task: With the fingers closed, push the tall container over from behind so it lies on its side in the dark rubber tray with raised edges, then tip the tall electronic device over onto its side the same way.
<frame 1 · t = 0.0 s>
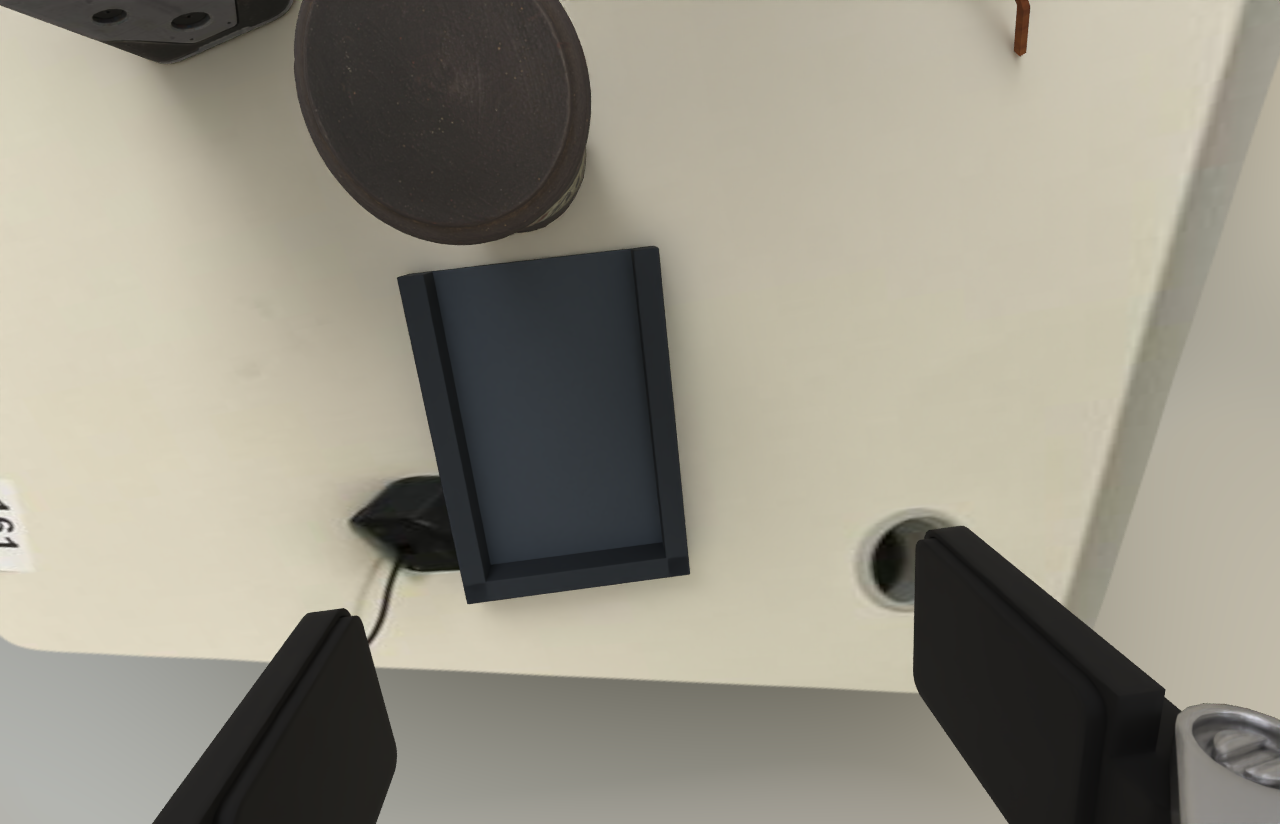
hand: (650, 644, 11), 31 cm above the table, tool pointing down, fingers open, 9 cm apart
container: (516, 154, 37), on the table
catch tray: (556, 415, 42), on the table
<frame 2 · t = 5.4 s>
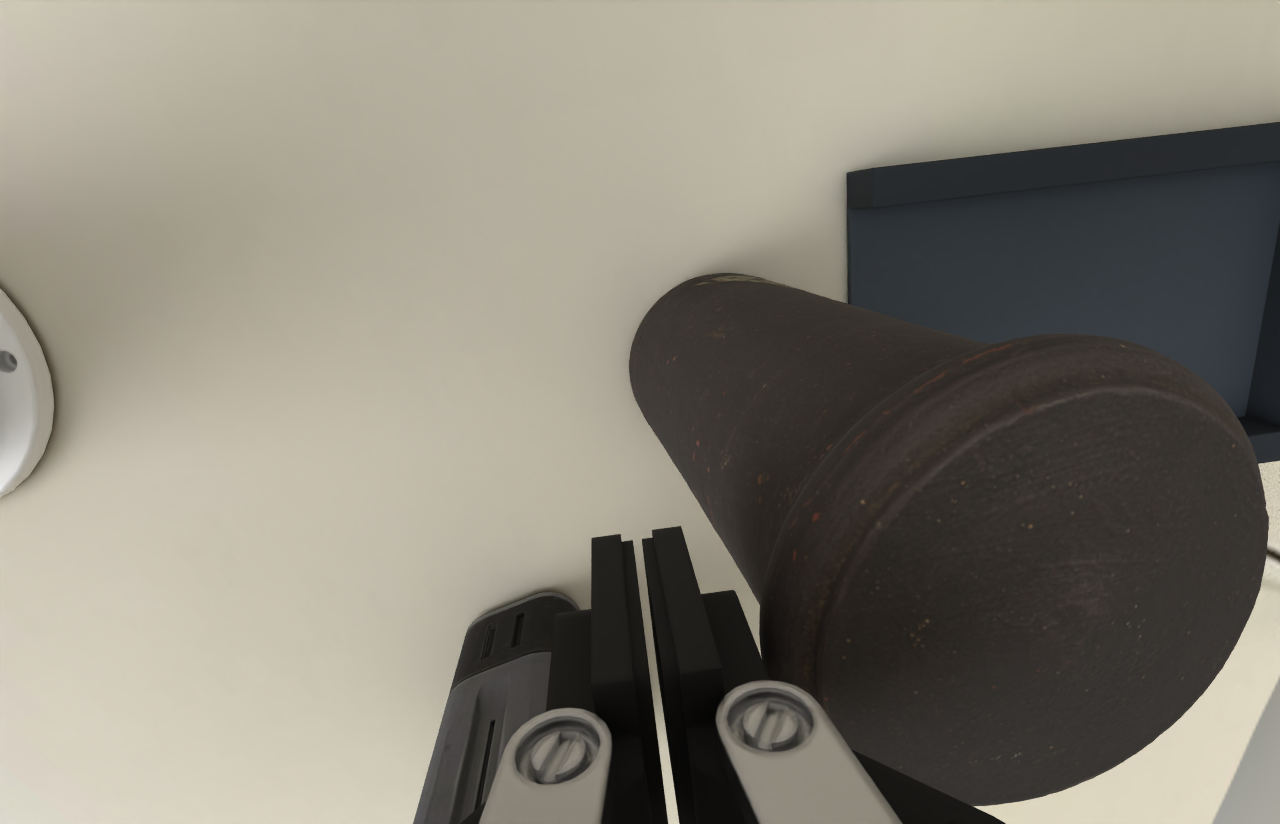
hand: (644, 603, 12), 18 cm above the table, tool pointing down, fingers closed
electronic device: (549, 669, 33), on the table
container: (719, 363, 29), on the table, touching gripper
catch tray: (1058, 319, 30), on the table
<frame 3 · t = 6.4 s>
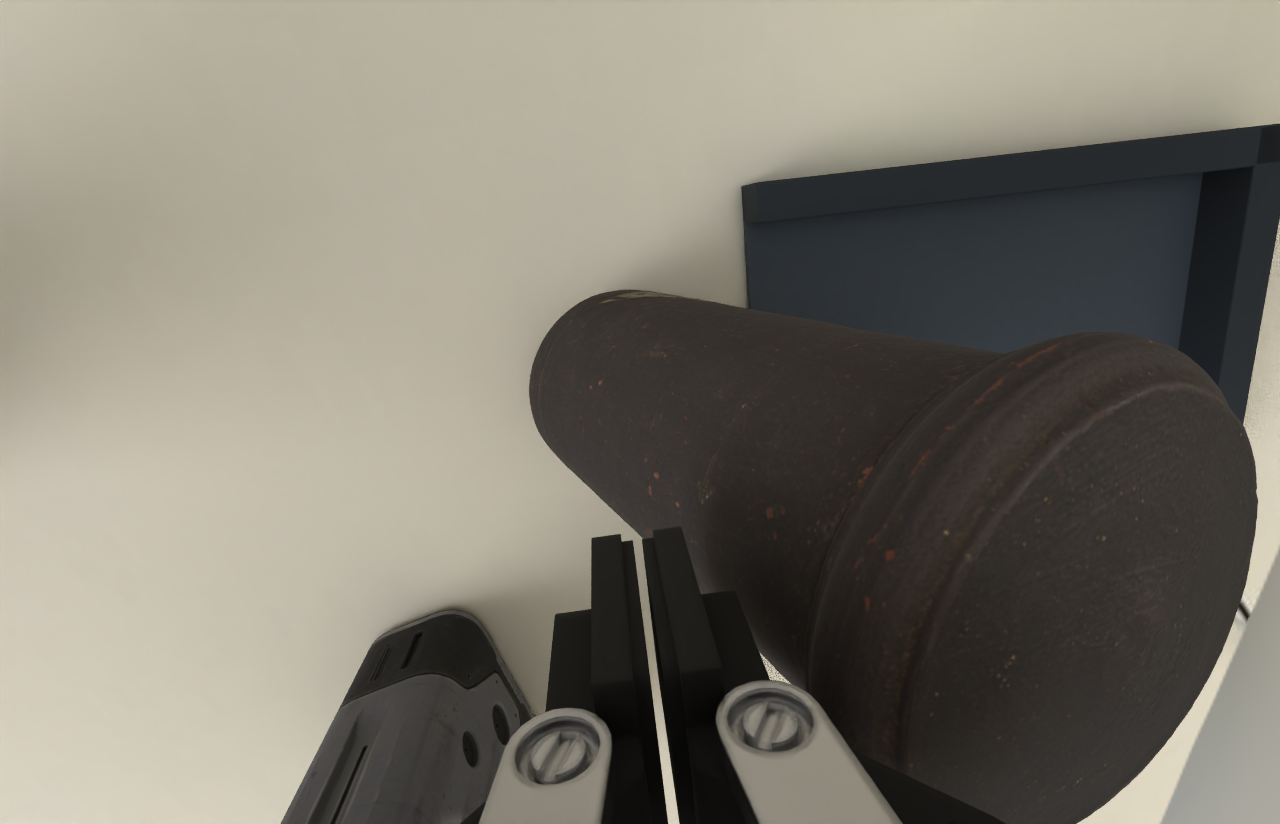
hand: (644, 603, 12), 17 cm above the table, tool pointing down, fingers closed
electronic device: (457, 687, 32), on the table
container: (623, 385, 27), point 1 cm above the table, touching gripper
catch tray: (967, 335, 29), on the table
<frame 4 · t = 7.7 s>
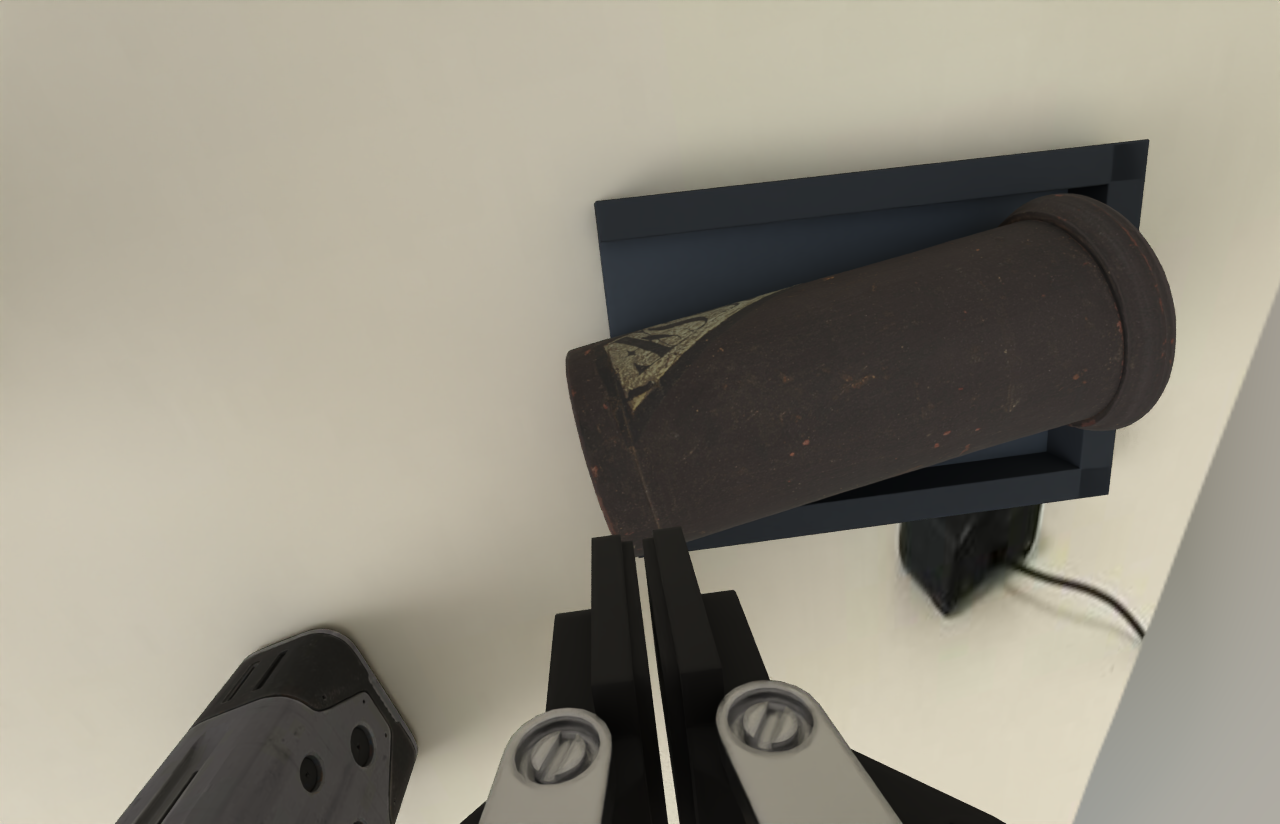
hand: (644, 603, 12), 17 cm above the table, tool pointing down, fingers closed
electronic device: (335, 705, 32), on the table
container: (590, 456, 25), point 4 cm above the table, touching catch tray
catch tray: (837, 353, 29), on the table
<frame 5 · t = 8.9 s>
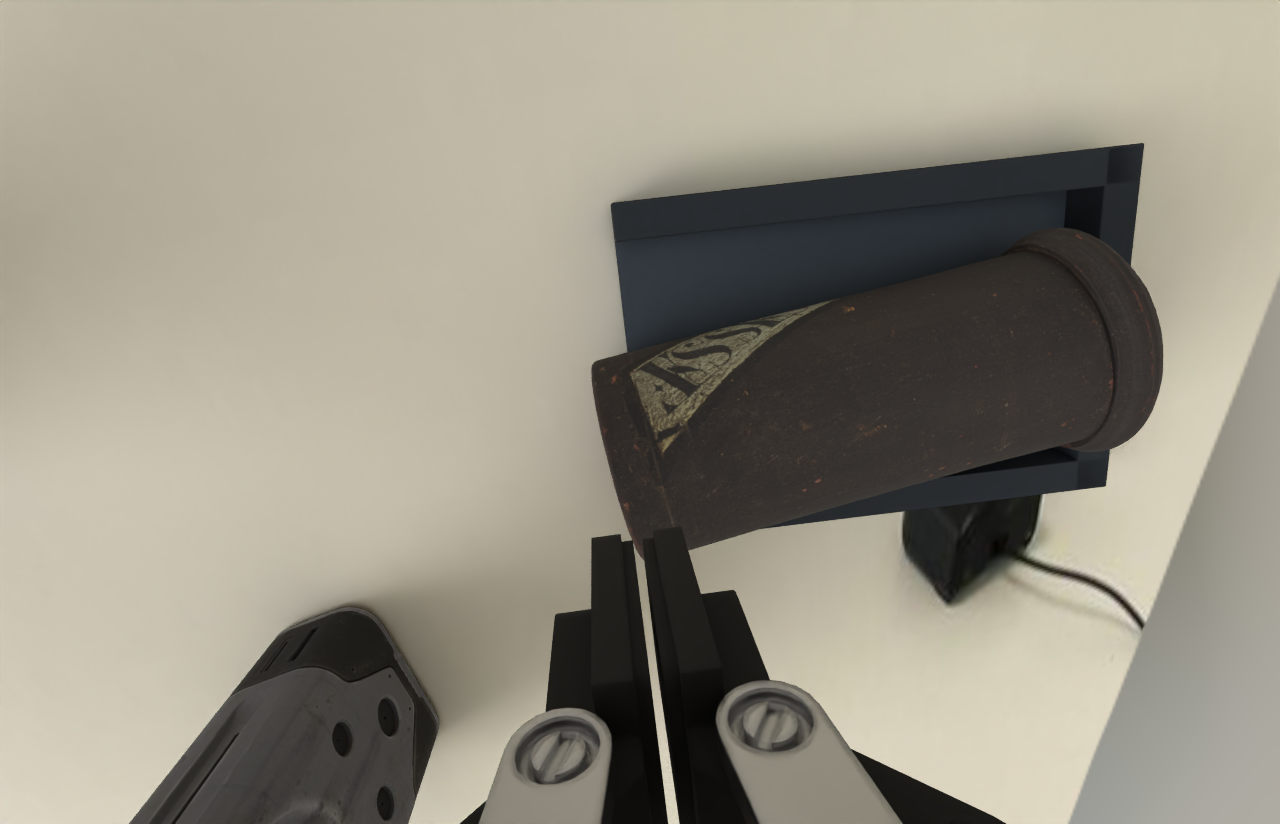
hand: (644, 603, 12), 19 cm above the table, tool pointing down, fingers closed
electronic device: (362, 681, 34), on the table
container: (611, 463, 26), point 4 cm above the table, touching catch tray
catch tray: (842, 348, 30), on the table
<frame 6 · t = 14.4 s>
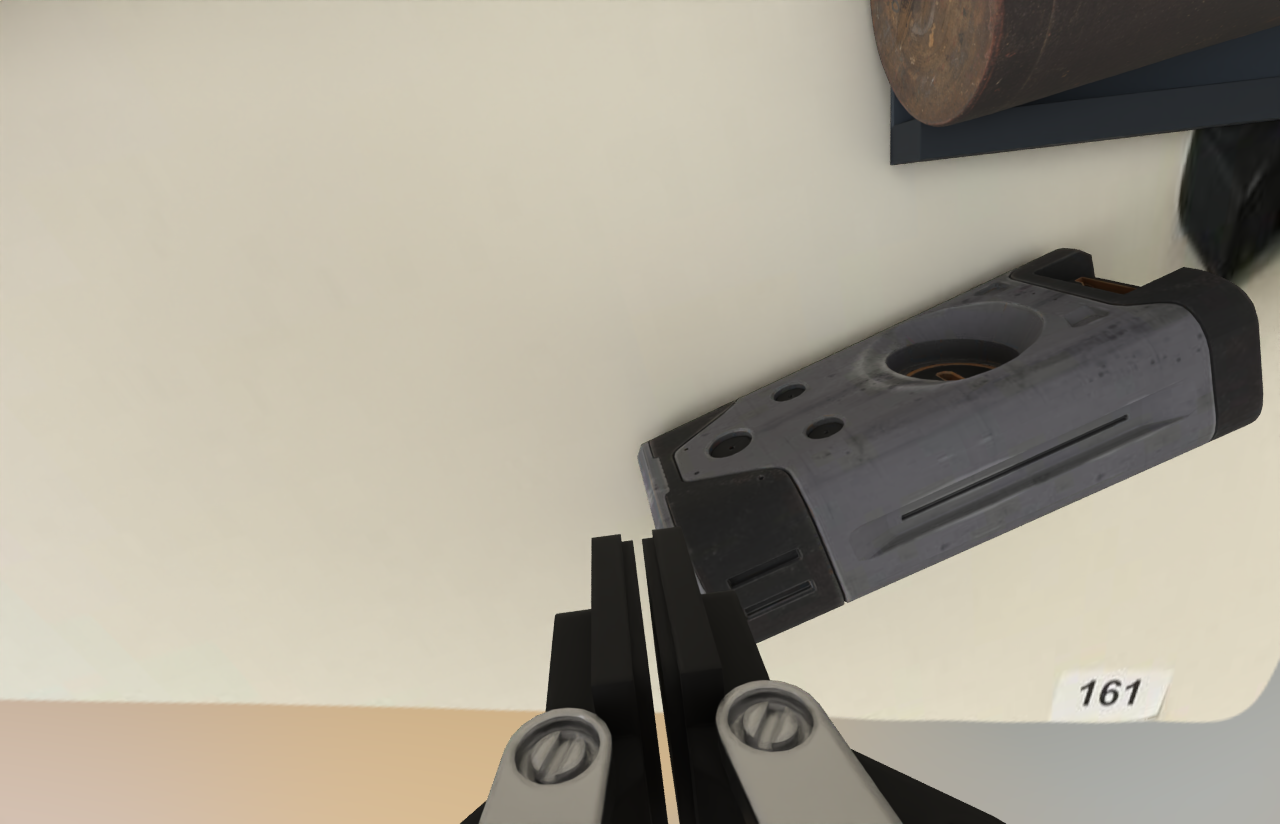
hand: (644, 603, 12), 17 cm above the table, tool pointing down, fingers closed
electronic device: (668, 544, 25), point 5 cm above the table
container: (914, 0, 21), point 4 cm above the table, touching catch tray
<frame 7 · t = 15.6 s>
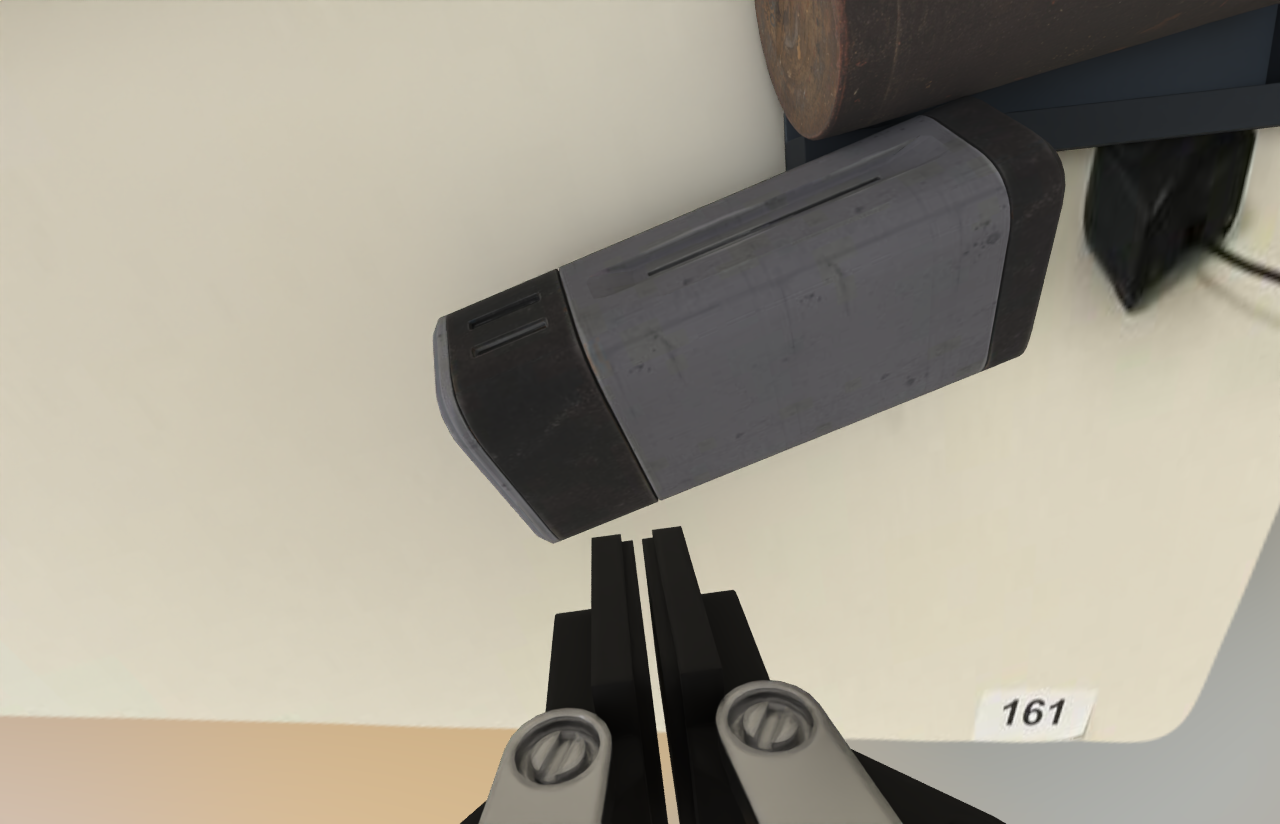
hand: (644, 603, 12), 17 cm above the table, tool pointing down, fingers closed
electronic device: (488, 442, 24), point 4 cm above the table, touching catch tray, container
container: (780, 13, 21), point 4 cm above the table, touching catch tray, electronic device
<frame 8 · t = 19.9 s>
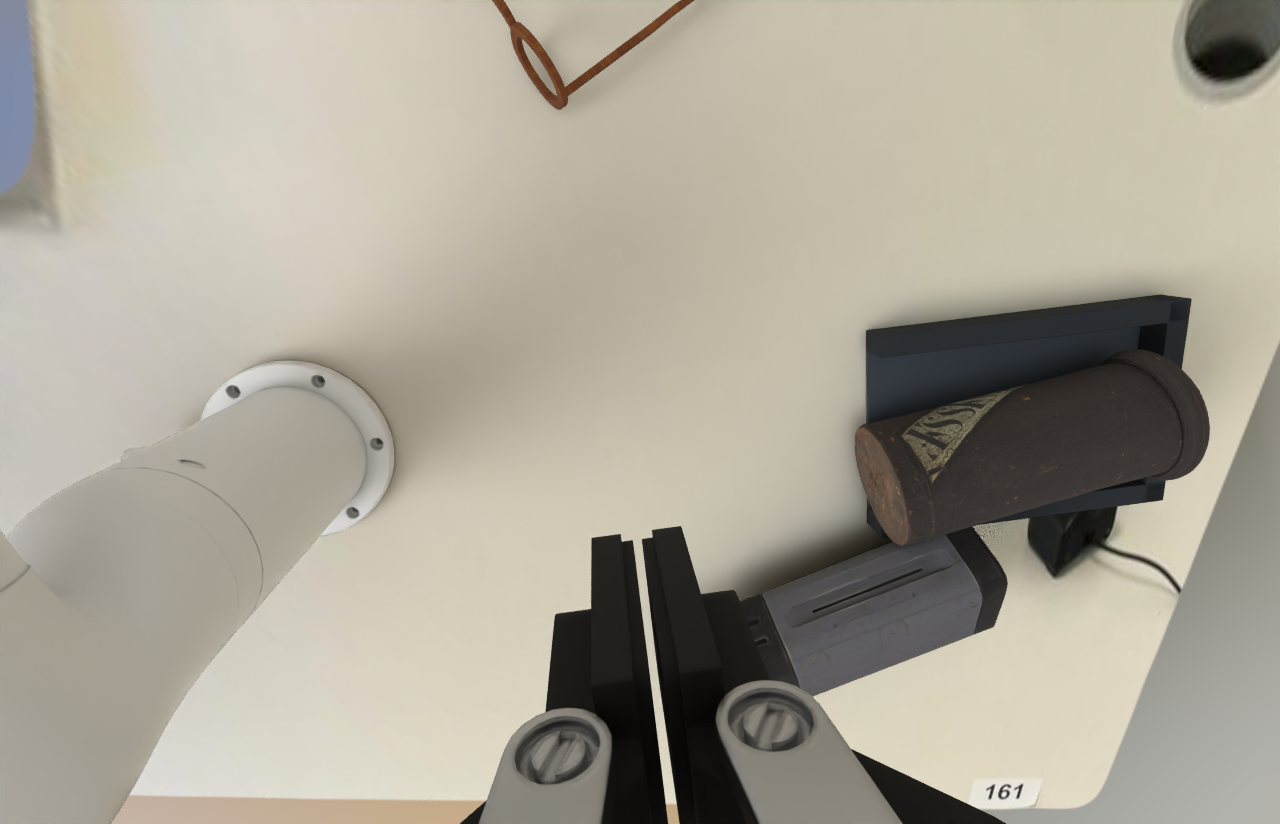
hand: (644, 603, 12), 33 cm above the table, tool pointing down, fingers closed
electronic device: (718, 672, 47), point 4 cm above the table, touching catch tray, container
container: (875, 487, 43), point 4 cm above the table, touching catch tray, electronic device
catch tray: (998, 414, 47), on the table
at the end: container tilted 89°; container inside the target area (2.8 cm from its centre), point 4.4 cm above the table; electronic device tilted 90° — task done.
